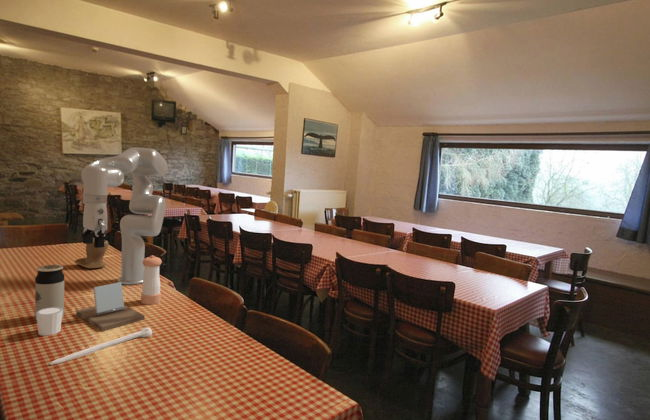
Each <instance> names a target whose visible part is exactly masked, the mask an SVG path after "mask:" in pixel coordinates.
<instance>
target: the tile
mask: <svg viewBox="0 0 650 420" xmlns="http://www.w3.org/2000/svg"><path fill="white" fill-rule="evenodd" d="M122 285H123V284H122V283H121V282H119V283H118V282H114V283H109V284H105V285H100V286H99V285H98V286H95V287H93V297H94V306H95V308H96V316H100V315H104V314H108V313H112V312H116V311H120V310H124V305H125V304H124V293H123V286H122Z"/></svg>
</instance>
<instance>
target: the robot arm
mask: <svg viewBox="0 0 650 420" xmlns="http://www.w3.org/2000/svg"><path fill="white" fill-rule="evenodd" d="M168 166H169V165H168V162H167V161H166V159H165V158H164V157H163V156H162V155H161V154H160V152H158V150H156V149H154V148H149V147H138V146H137V147H129V148H127V149H126V150H124V151H122V152H121V153H119V154H118V155H116V156H110V157H106V158H101V159H97V160H94V161H92V162H90V163H88V164H87V165H86V166H85V167H84V168H83V169H82V172H81V176H80V177H81V180H82V183H83V189H82V190H83V191H82V194H83V195H82V204H83V205H84V206H83V207H84V208H83V216H82V228H83V229H82V235H83V236H82V243H83V244H84V245H86V244H89V243H93V238H94V247H95V248H99V247H104V240H106V239H105V237H106V233H107V232H106V231H107V230H108V209H107V208H108V207H107V204H108V187H110V188H117V187H119V186H121V185H123V183H124V182H125V175H129V174H131V176H132V179H133V189H132V193H131V195H130V200H129V205H128V208H129V211H130V212H131V213H133V214H127V215H124V216H122V218H121V219H120V222H119V229H120V234H121V261H120V263H121V265H120V266H121V270H120V277H118V278H117V279H116V283H119V282H121V283H122V285H124V286H125V285H139V284H143V280H144V269H145V266H144V265H143V263H142V262H143V260H144V259H145V253H146V251H145V247H146V245H145V241H144V239H143V238H142V237H143V236H144V237H157V236H158V235H160V232H161V231H162V227H163V223H164V217H165V214H166V207H167V204H166V199H165V198H164V197H163V196H162V195H157V194H153V192H154V185H153V183H152V181H151V180H150V179H149V177H165V176H166V175H167V174H168V172H169V171H168V170H169V167H168ZM148 176H149V177H148ZM94 235H95V236H94ZM141 236H142V237H141Z"/></svg>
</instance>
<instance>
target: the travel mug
mask: <svg viewBox="0 0 650 420" xmlns="http://www.w3.org/2000/svg"><path fill="white" fill-rule="evenodd" d="M63 269H64V265H61V264H46V265H41V266H38V267H36V271H37V275H36V276H35V278H34V280H35V283H34V284H35V286H34V289H35V290H34V293H35V294H34V297H35V299H34V300H35V301H34V305H35V307H34V309H35V310H34V312H35V313H34V315H35V316H34V318H35V319H34V320H35V321H37V316H36V312H37V311H39V310H41V309H45V308H51V307H59V308H62V309H63V313H62V318H63V317H64V316H65V274H64V273H63Z"/></svg>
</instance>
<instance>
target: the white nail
mask: <svg viewBox="0 0 650 420" xmlns="http://www.w3.org/2000/svg"><path fill="white" fill-rule="evenodd" d="M152 330H153V329H152V328H151V327H146V326H145V327H143V328H142V329H141V330H139V331H136V332H133V333H132V332H131V333H130V334H127V335H124V336H121V337H118V338H115V339H112V340H109V341H106V342H102V343H99V344H96V345H94V346H90V347H88V348H86V349H82V350H79V351H76V352H73V353H71V354H69V355H65V356H63V357H59V358H56V359H55V360H52V361H51V362H50V363H49V365H50V366H53V365H58V364H62V363H64V362H65V363H66V362H67V361H72V360H74V359H78V358H81V357H83V356H84V357H85V356H86V355H87V356H88V355H90V354H93V353H95V352H97V351H100V350H104V349H107V348H110V347H112V346H116V345H118V344H122V343H124V342H128V341H131V340H134V339H137V338H148V337H151V336H152V335H153V331H152Z"/></svg>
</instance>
